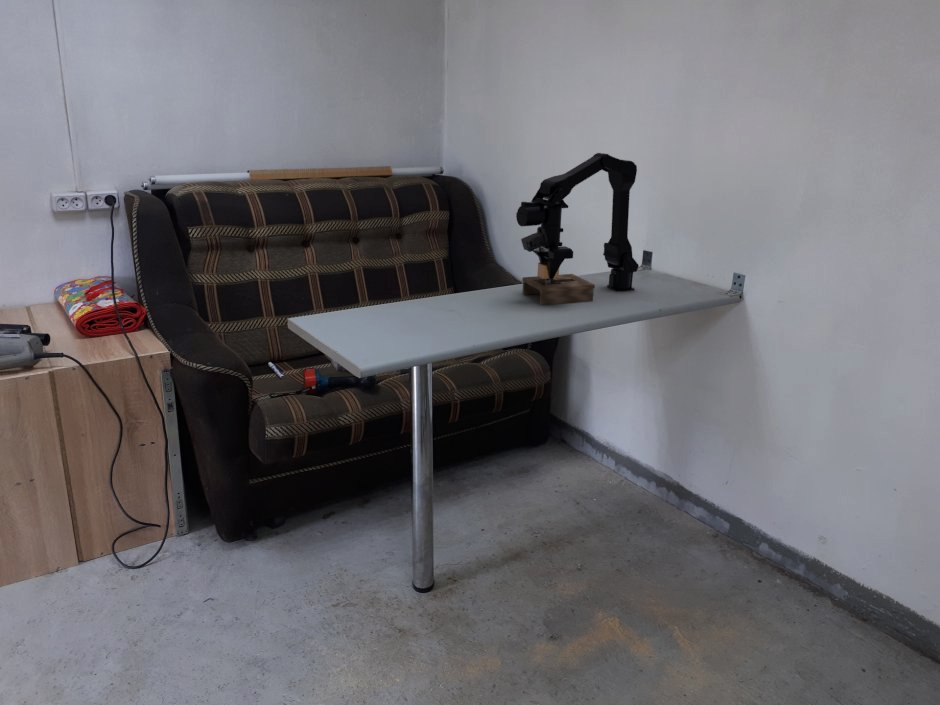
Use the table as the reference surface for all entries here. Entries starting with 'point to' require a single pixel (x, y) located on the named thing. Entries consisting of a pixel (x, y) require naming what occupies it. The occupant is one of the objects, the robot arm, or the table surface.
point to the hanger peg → (545, 272)
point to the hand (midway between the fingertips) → (548, 276)
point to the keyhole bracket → (559, 289)
